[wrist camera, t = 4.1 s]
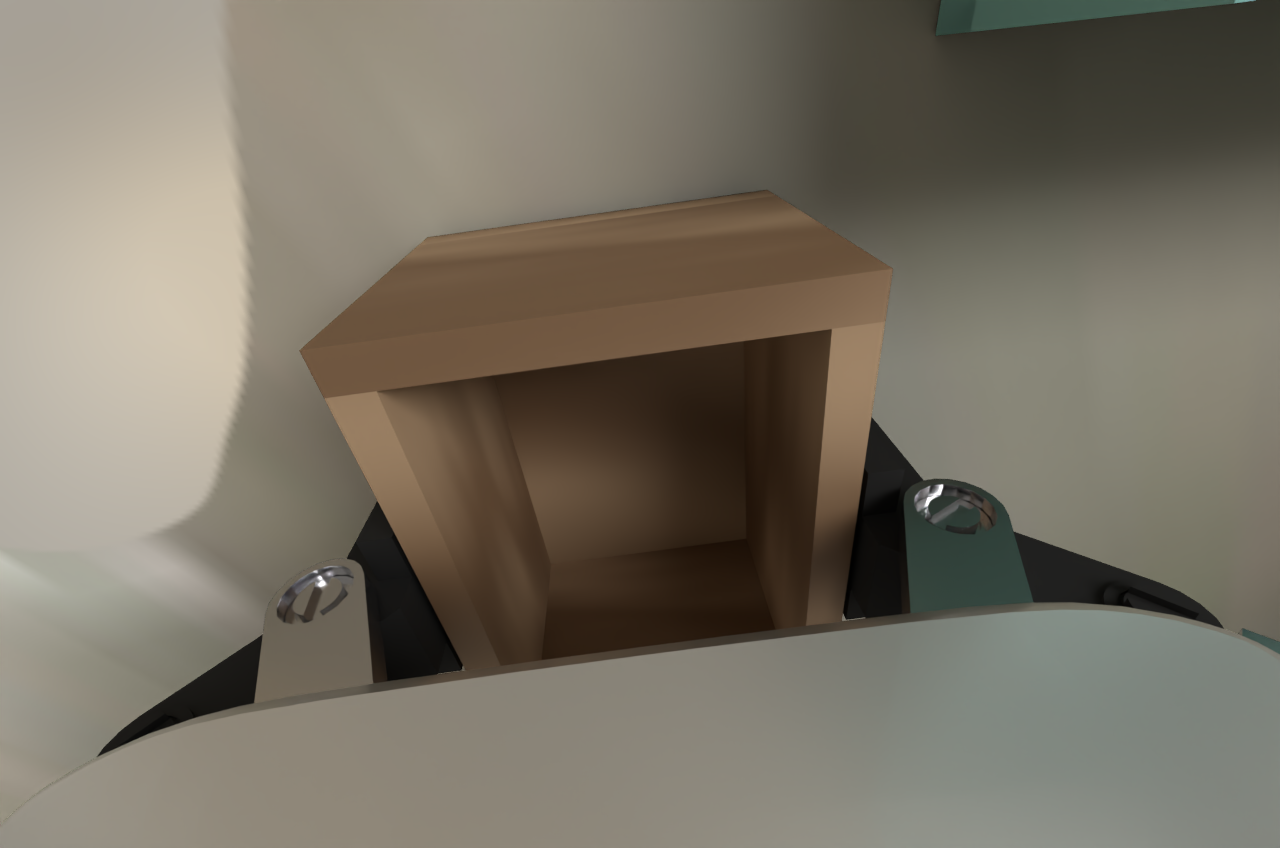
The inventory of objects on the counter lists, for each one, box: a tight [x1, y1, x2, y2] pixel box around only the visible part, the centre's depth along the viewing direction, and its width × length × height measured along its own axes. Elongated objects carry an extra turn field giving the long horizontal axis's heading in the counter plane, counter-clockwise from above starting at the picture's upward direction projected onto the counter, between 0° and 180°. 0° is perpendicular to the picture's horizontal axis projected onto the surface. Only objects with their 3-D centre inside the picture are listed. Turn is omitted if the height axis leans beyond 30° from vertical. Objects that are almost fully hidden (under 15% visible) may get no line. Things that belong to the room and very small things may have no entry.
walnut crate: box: [299, 190, 893, 670], centre depth 10 cm, size 9×6×5 cm
